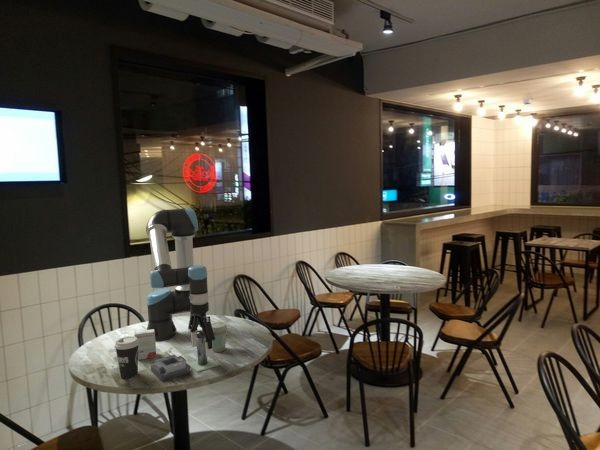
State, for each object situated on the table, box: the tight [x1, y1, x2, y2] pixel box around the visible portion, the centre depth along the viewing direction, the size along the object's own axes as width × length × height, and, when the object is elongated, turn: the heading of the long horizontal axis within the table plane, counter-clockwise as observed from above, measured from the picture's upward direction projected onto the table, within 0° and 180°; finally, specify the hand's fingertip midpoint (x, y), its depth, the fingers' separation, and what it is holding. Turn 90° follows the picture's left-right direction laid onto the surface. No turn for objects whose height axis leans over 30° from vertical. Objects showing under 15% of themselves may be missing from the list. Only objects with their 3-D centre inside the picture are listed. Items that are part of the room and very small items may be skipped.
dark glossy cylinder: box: [196, 329, 208, 366], centre depth 182 cm, size 4×4×14 cm
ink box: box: [133, 329, 157, 361], centre depth 193 cm, size 9×5×12 cm, turn 108°
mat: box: [186, 356, 220, 373], centre depth 183 cm, size 10×10×1 cm
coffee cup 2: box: [211, 321, 228, 353], centre depth 198 cm, size 8×8×12 cm
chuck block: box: [150, 354, 192, 382], centre depth 177 cm, size 12×12×4 cm
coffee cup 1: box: [113, 335, 139, 380], centre depth 174 cm, size 10×10×15 cm
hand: (202, 350), depth 182 cm, fingers open, 13 cm apart
